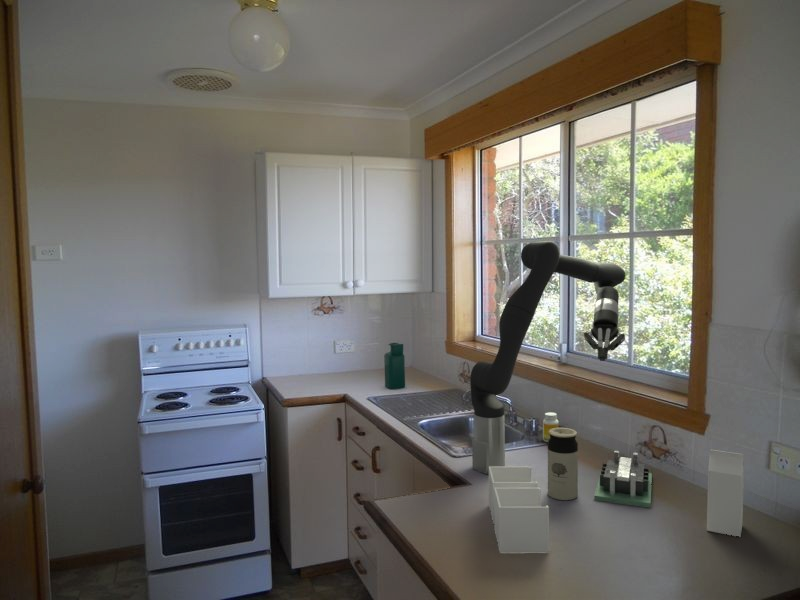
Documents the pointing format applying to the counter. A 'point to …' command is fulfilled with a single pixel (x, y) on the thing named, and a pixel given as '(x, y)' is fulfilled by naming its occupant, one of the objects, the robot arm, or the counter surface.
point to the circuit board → (624, 496)
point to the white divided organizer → (517, 510)
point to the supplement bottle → (549, 424)
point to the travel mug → (562, 464)
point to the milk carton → (725, 492)
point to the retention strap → (624, 469)
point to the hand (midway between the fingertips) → (602, 359)
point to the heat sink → (632, 487)
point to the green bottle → (395, 367)
